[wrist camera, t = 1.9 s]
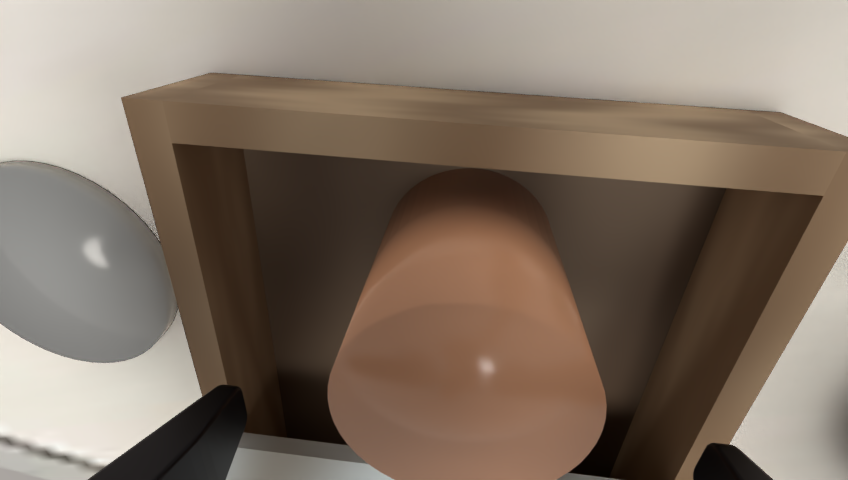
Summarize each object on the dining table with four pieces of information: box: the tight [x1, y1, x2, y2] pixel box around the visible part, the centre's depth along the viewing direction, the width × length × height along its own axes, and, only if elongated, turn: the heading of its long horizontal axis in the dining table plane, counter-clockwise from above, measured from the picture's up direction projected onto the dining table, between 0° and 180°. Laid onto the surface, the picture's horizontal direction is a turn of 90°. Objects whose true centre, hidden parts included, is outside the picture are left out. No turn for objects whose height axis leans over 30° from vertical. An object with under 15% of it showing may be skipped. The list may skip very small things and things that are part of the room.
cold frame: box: [121, 73, 848, 480], centre depth 17 cm, size 17×22×5 cm
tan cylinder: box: [328, 168, 607, 480], centre depth 12 cm, size 6×6×7 cm
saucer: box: [0, 161, 178, 363], centre depth 18 cm, size 9×9×1 cm
